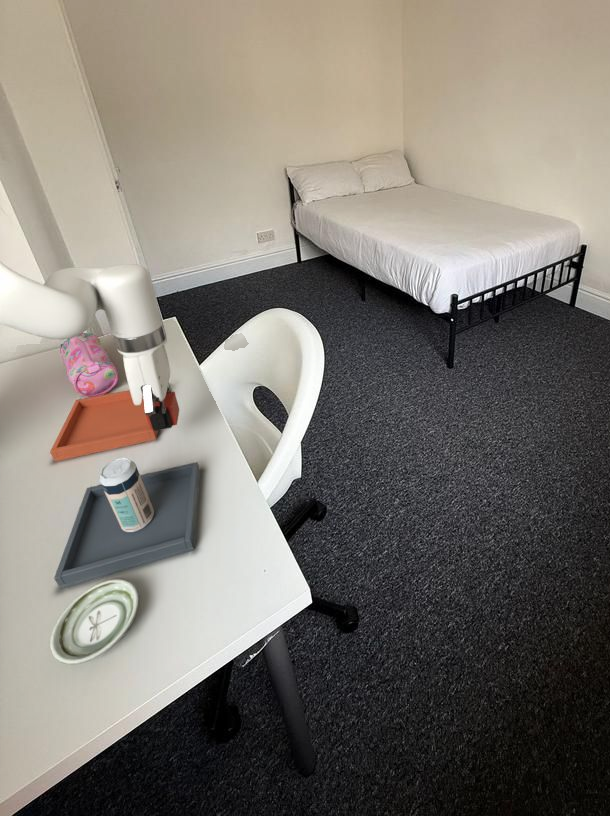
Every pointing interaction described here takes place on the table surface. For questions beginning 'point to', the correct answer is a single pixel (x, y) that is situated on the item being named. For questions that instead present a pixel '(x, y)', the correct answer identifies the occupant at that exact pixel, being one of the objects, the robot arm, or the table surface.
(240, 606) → the table surface
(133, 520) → the beer can
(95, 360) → the pencil case
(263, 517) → the table surface
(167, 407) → the red block
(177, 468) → the grey tray
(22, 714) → the table surface
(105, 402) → the terracotta tray
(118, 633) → the saucer
